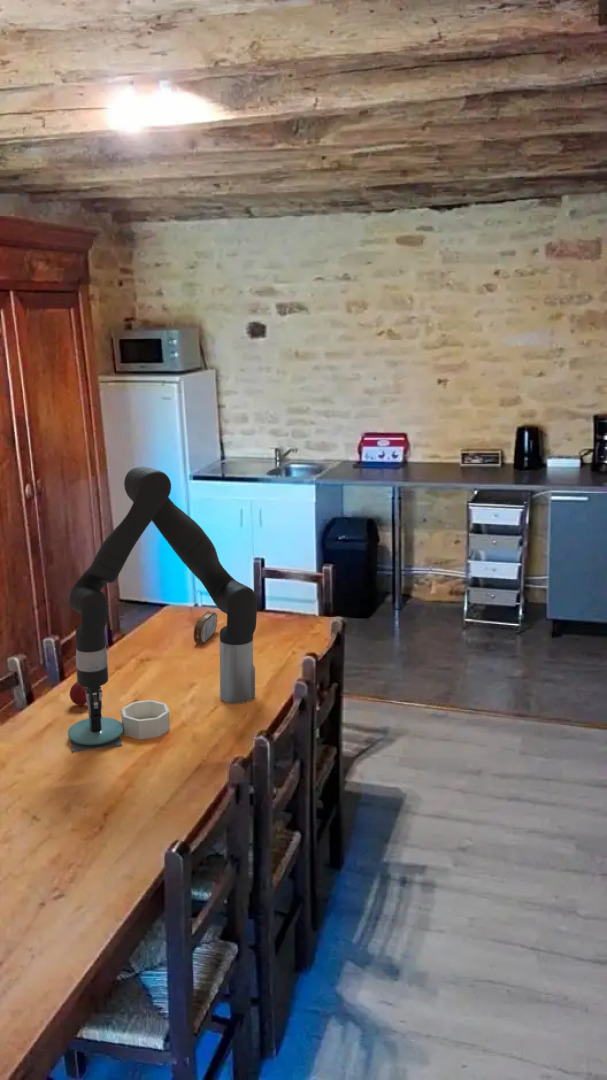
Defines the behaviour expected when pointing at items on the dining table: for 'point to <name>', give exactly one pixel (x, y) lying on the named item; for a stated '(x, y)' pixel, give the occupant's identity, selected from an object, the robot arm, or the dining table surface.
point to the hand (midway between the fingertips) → (95, 727)
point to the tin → (205, 627)
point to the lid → (85, 736)
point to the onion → (78, 694)
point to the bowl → (145, 719)
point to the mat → (80, 747)
